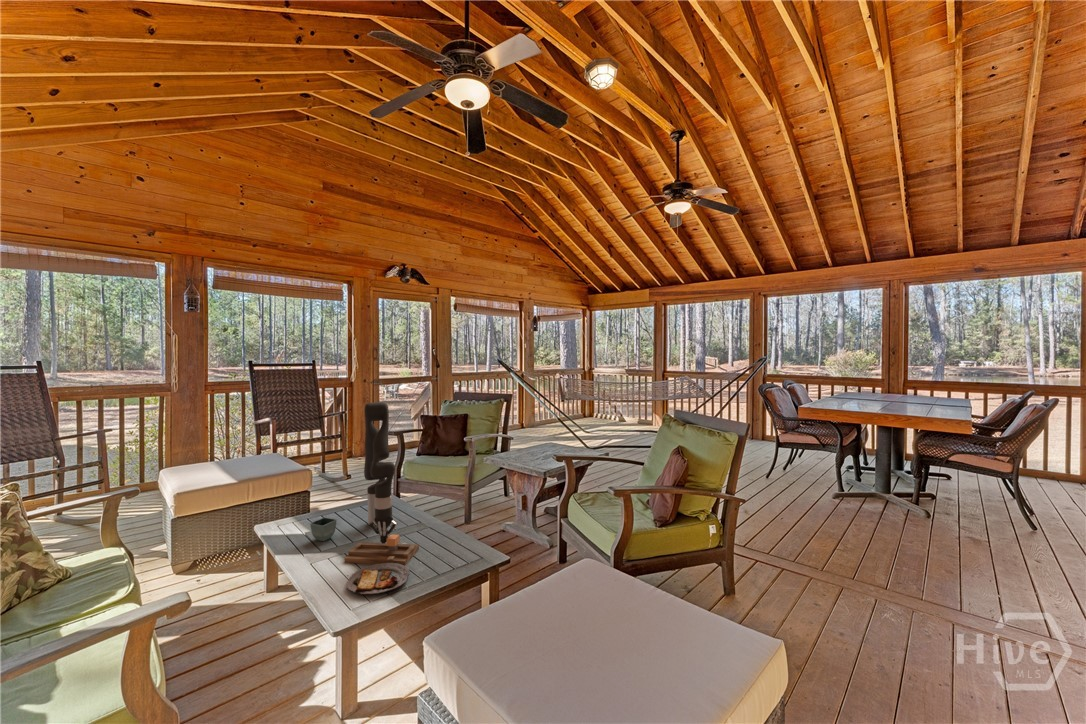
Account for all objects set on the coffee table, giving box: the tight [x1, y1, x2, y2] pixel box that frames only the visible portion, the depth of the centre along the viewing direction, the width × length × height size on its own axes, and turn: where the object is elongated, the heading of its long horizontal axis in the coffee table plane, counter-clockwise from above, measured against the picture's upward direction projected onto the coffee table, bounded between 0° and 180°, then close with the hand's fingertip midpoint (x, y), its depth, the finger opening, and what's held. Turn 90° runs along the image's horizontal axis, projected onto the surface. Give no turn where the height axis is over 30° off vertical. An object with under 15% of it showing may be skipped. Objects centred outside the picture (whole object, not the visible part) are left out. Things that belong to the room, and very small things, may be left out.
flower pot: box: [309, 516, 337, 542], centre depth 221 cm, size 9×9×9 cm
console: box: [344, 541, 420, 566], centre depth 204 cm, size 16×28×4 cm, turn 84°
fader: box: [386, 533, 400, 551], centre depth 203 cm, size 5×4×7 cm
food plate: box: [345, 563, 410, 595], centre depth 181 cm, size 25×23×4 cm
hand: (384, 542), depth 203 cm, fingers closed
